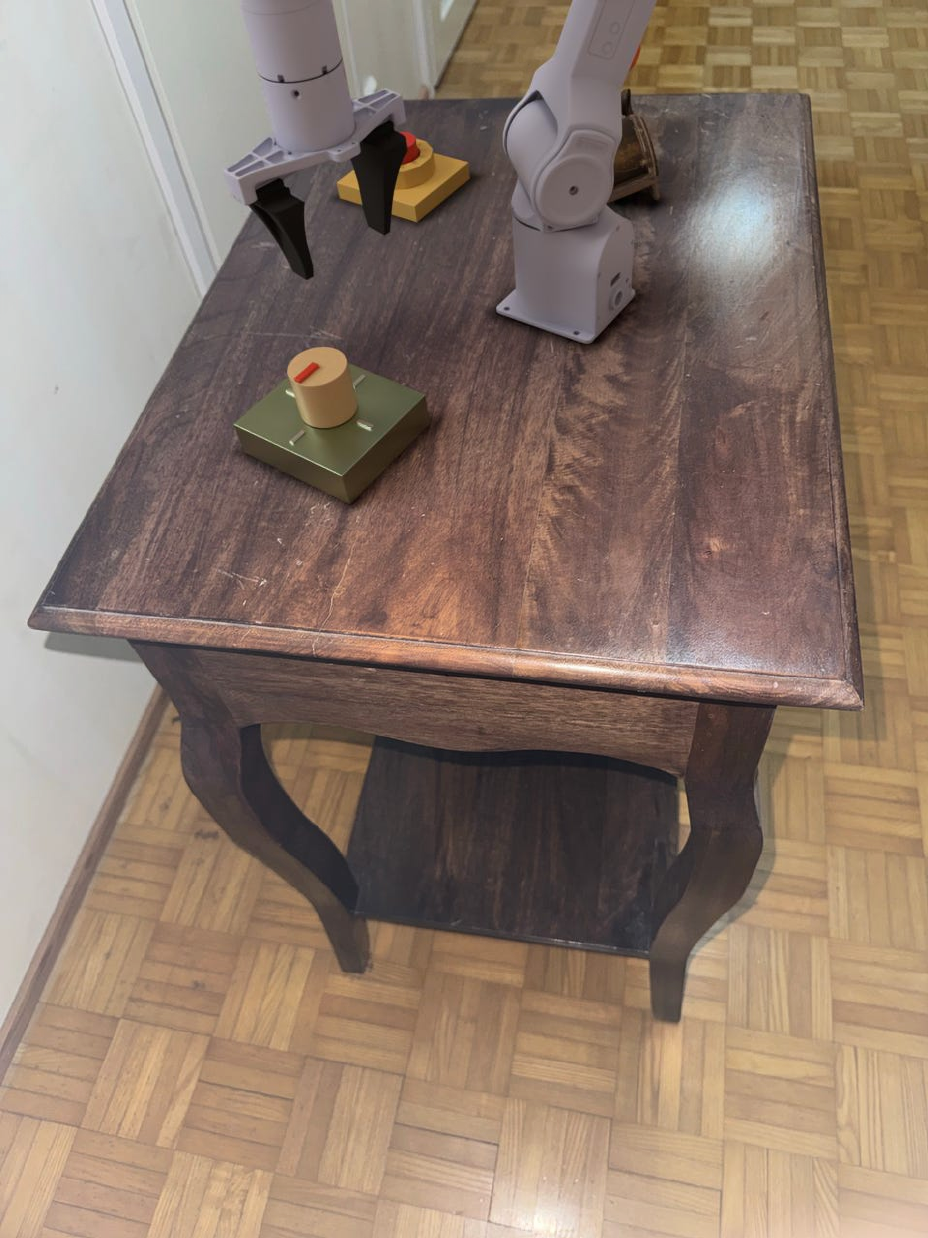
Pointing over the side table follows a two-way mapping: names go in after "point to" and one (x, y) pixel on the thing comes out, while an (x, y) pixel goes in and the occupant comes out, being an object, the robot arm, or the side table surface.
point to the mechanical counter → (634, 161)
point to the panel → (336, 435)
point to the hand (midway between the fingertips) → (342, 250)
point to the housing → (417, 183)
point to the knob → (322, 387)
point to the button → (410, 148)
